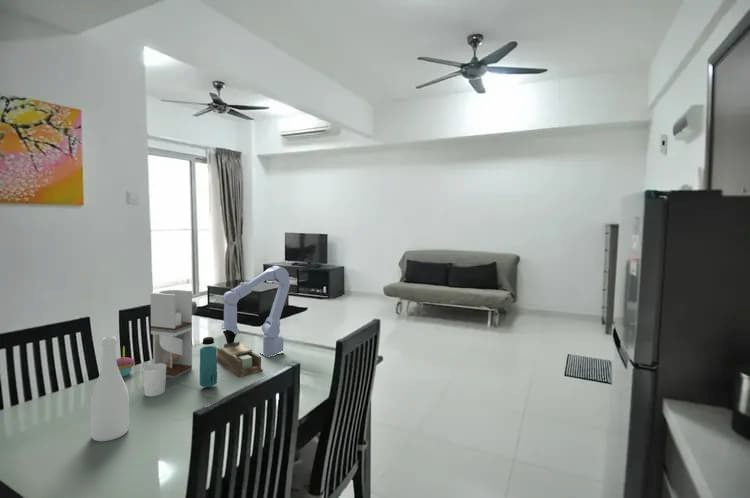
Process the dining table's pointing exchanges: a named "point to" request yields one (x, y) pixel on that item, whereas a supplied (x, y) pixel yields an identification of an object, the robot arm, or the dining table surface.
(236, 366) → the brown wooden box
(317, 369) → the dining table surface
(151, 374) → the white cup
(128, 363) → the cupcake
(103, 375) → the wine bottle
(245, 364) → the block
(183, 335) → the white tiered shelf
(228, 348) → the lid
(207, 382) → the beverage bottle
